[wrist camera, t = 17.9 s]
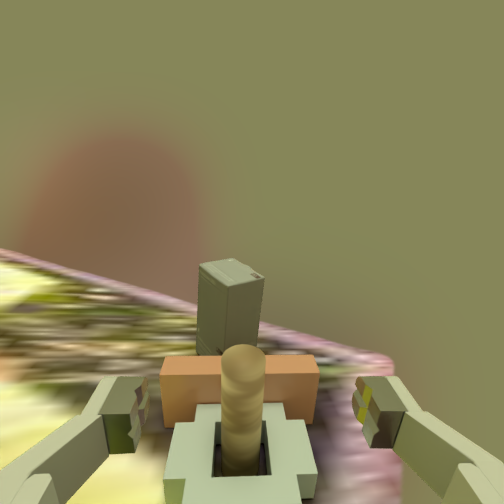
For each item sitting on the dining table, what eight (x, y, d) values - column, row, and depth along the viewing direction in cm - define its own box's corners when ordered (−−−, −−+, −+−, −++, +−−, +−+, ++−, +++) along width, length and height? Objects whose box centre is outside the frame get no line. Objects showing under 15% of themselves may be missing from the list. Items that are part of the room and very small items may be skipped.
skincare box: (195, 352, 46) (191, 263, 40) (231, 337, 50) (232, 254, 45) (222, 385, 40) (222, 285, 34) (260, 364, 44) (266, 272, 38)
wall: (312, 424, 34) (319, 372, 32) (164, 427, 33) (159, 375, 30) (306, 403, 37) (312, 354, 34) (170, 406, 36) (165, 356, 33)
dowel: (213, 473, 29) (212, 365, 24) (233, 440, 32) (235, 339, 27) (248, 494, 27) (253, 382, 22) (264, 457, 30) (272, 353, 26)
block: (320, 527, 25) (325, 502, 23) (159, 535, 24) (156, 509, 23) (296, 423, 34) (299, 402, 33) (181, 426, 33) (179, 404, 32)
